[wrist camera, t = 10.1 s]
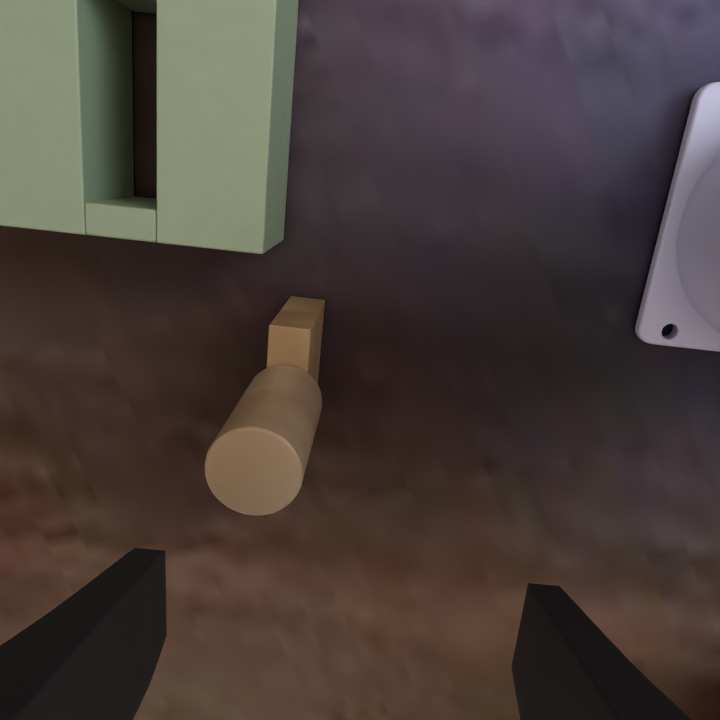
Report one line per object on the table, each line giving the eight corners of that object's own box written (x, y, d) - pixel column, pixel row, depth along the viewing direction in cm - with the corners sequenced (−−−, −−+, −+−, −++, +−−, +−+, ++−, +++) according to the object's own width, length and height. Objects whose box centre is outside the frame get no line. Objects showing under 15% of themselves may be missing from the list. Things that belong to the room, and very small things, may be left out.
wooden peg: (339, 301, 21) (310, 385, 13) (328, 419, 22) (295, 563, 14) (275, 293, 21) (205, 374, 13) (268, 412, 22) (201, 552, 14)
